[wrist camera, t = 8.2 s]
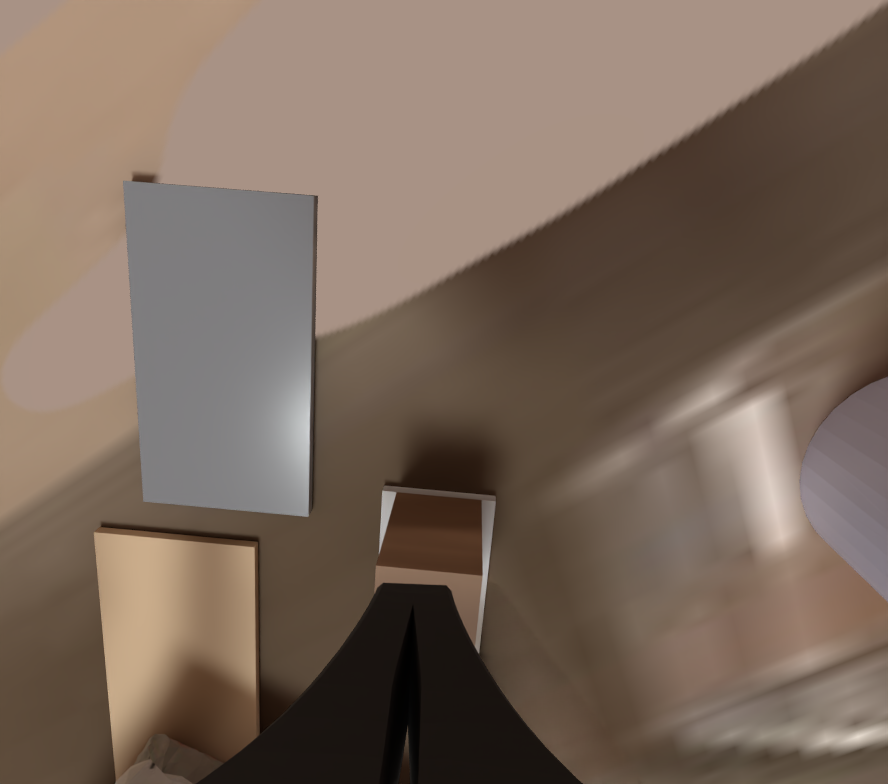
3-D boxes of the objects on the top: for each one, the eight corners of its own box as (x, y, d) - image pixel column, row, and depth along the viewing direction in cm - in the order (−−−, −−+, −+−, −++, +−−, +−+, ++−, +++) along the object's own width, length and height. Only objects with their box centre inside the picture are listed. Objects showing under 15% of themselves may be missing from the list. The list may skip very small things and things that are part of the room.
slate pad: (317, 195, 20) (313, 195, 20) (311, 510, 23) (308, 516, 23) (131, 181, 20) (123, 180, 20) (150, 495, 24) (143, 501, 23)
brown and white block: (384, 483, 23) (358, 563, 18) (495, 494, 23) (500, 577, 18) (373, 689, 26) (347, 810, 21) (472, 699, 26) (471, 824, 20)
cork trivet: (258, 541, 24) (254, 547, 24) (260, 913, 29) (258, 922, 29) (99, 527, 24) (93, 532, 24) (131, 898, 29) (127, 907, 29)
